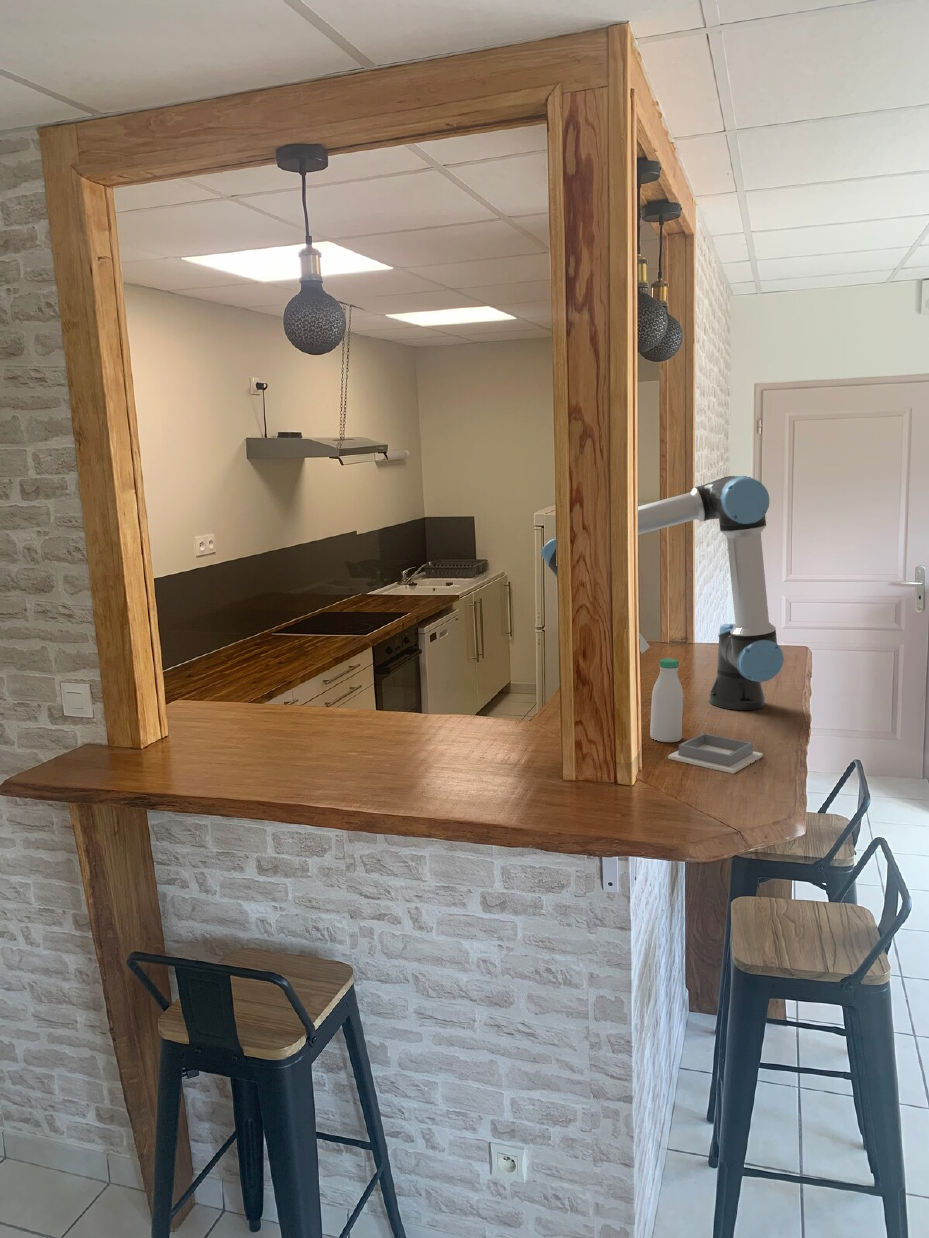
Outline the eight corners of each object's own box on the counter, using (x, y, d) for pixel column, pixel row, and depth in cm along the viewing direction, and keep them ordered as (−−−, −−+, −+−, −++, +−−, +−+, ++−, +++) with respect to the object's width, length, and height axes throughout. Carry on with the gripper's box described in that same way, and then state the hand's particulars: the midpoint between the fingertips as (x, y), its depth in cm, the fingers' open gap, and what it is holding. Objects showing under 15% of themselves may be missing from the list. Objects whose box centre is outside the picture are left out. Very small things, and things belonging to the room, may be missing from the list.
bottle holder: (699, 743, 228) (699, 730, 227) (762, 756, 217) (763, 743, 217) (667, 758, 215) (668, 744, 215) (733, 773, 205) (734, 759, 205)
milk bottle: (682, 744, 227) (685, 664, 223) (649, 742, 228) (653, 662, 225) (681, 735, 234) (685, 657, 231) (650, 733, 236) (653, 656, 232)
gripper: (600, 593, 253) (647, 655, 246) (547, 603, 234) (596, 670, 227) (618, 575, 248) (666, 638, 241) (565, 584, 229) (616, 652, 222)
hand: (632, 654), depth 234 cm, fingers open, 13 cm apart
